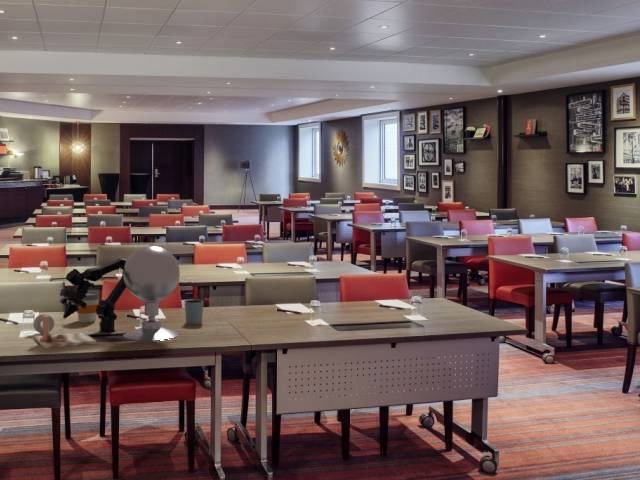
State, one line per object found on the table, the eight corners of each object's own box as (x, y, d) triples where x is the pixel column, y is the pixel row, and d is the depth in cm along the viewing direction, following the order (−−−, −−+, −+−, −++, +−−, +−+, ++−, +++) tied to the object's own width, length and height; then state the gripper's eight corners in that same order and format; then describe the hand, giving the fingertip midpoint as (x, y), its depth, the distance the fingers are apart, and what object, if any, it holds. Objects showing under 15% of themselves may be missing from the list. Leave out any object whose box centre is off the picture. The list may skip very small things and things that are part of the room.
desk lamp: (124, 341, 408) (124, 249, 404) (122, 330, 435) (122, 243, 431) (182, 339, 416) (182, 248, 411) (176, 328, 442) (176, 243, 438)
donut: (33, 334, 419) (33, 315, 418) (33, 333, 422) (33, 313, 421) (54, 333, 423) (54, 313, 422) (54, 332, 426) (53, 312, 425)
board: (83, 334, 422) (83, 326, 422) (96, 343, 404) (96, 334, 403) (34, 338, 410) (34, 330, 410) (44, 348, 391) (44, 339, 391)
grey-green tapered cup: (205, 321, 463) (205, 299, 462) (200, 325, 453) (201, 303, 452) (187, 320, 464) (187, 299, 463) (182, 324, 454) (182, 302, 453)
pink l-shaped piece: (67, 338, 406) (67, 315, 405) (65, 340, 400) (65, 317, 399) (41, 338, 404) (41, 315, 403) (39, 341, 399) (39, 317, 397)
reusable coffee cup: (95, 323, 450) (95, 295, 449) (72, 322, 451) (72, 295, 449) (102, 319, 463) (102, 292, 461) (79, 318, 463) (79, 291, 462)
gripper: (60, 282, 421) (42, 308, 414) (76, 282, 407) (59, 309, 400) (77, 294, 427) (60, 320, 420) (94, 294, 413) (77, 322, 406)
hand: (63, 318), depth 412 cm, fingers closed
